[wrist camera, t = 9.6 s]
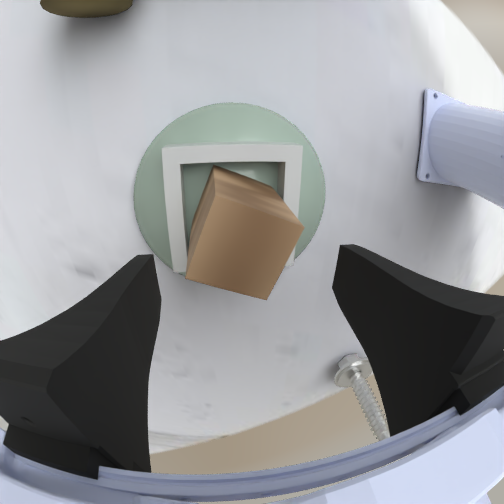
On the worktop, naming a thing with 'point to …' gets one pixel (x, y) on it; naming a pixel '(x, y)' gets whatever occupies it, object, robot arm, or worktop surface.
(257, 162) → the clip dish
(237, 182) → the brown tall block
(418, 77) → the worktop surface
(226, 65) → the worktop surface
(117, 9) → the olive cylinder
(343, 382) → the screw
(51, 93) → the worktop surface
